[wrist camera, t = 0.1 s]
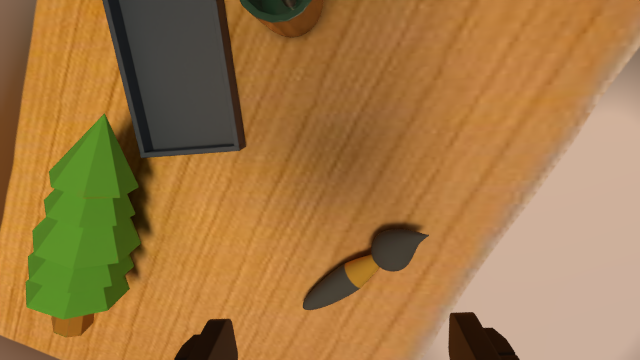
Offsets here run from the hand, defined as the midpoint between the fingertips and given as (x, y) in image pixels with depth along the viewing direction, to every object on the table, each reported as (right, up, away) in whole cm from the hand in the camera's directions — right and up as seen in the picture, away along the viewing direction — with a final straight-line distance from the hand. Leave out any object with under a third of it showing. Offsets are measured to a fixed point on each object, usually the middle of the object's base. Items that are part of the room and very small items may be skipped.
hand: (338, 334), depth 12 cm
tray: (-17, +19, +26) cm, 36 cm away
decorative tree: (-28, +1, +32) cm, 43 cm away
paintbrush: (+5, -6, +32) cm, 33 cm away
